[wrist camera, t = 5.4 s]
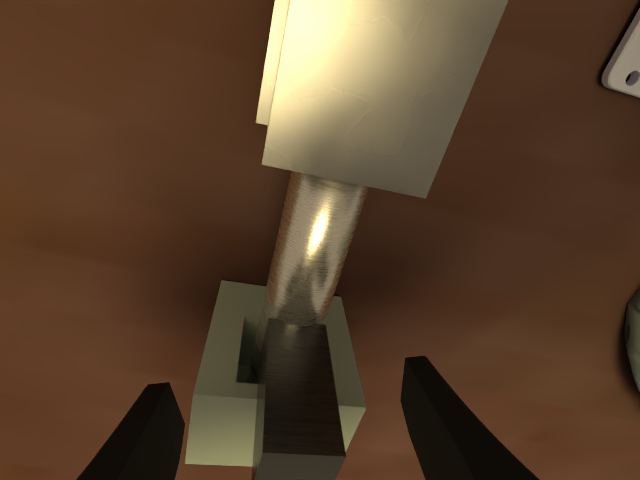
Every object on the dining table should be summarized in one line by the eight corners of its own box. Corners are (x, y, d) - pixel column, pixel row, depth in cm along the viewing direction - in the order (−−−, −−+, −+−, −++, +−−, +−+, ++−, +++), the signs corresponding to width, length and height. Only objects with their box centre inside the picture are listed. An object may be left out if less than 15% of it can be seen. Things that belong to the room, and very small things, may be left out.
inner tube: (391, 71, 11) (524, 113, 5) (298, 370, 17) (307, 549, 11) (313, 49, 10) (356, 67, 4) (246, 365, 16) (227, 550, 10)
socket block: (341, 296, 18) (366, 407, 13) (321, 352, 20) (337, 469, 15) (221, 280, 17) (193, 394, 12) (212, 340, 19) (184, 463, 13)
